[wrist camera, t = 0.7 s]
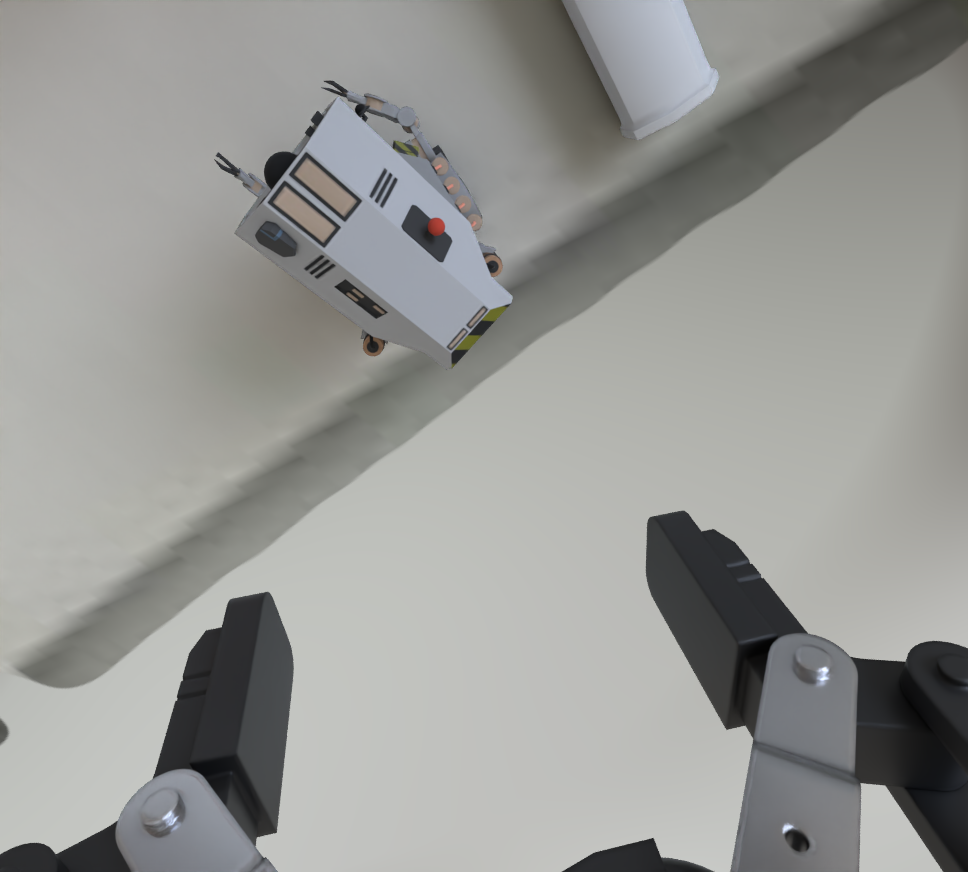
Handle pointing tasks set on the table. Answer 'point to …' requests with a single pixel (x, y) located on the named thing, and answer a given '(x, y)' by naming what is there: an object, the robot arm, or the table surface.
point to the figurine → (378, 231)
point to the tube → (644, 59)
